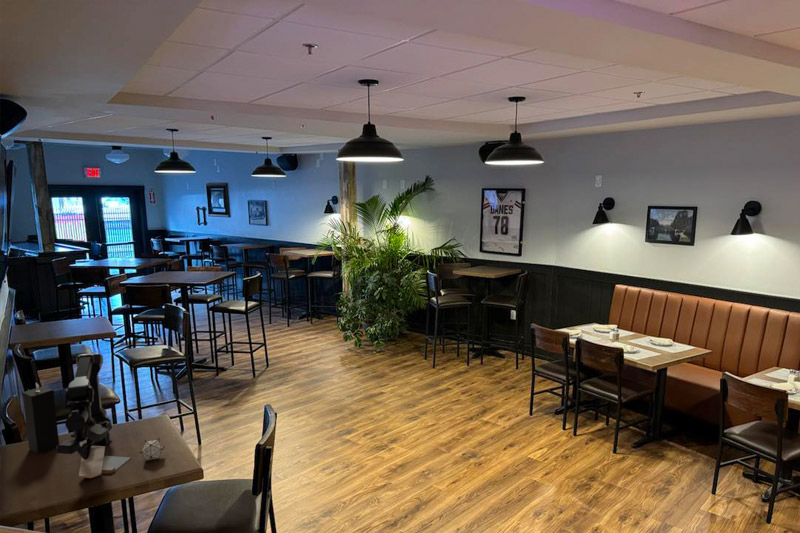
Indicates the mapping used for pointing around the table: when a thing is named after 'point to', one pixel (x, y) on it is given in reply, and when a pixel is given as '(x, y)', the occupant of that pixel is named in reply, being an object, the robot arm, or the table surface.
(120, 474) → the table surface
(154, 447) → the game die
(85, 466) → the marked block
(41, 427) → the tall black block
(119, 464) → the mat
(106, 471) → the stop rail
